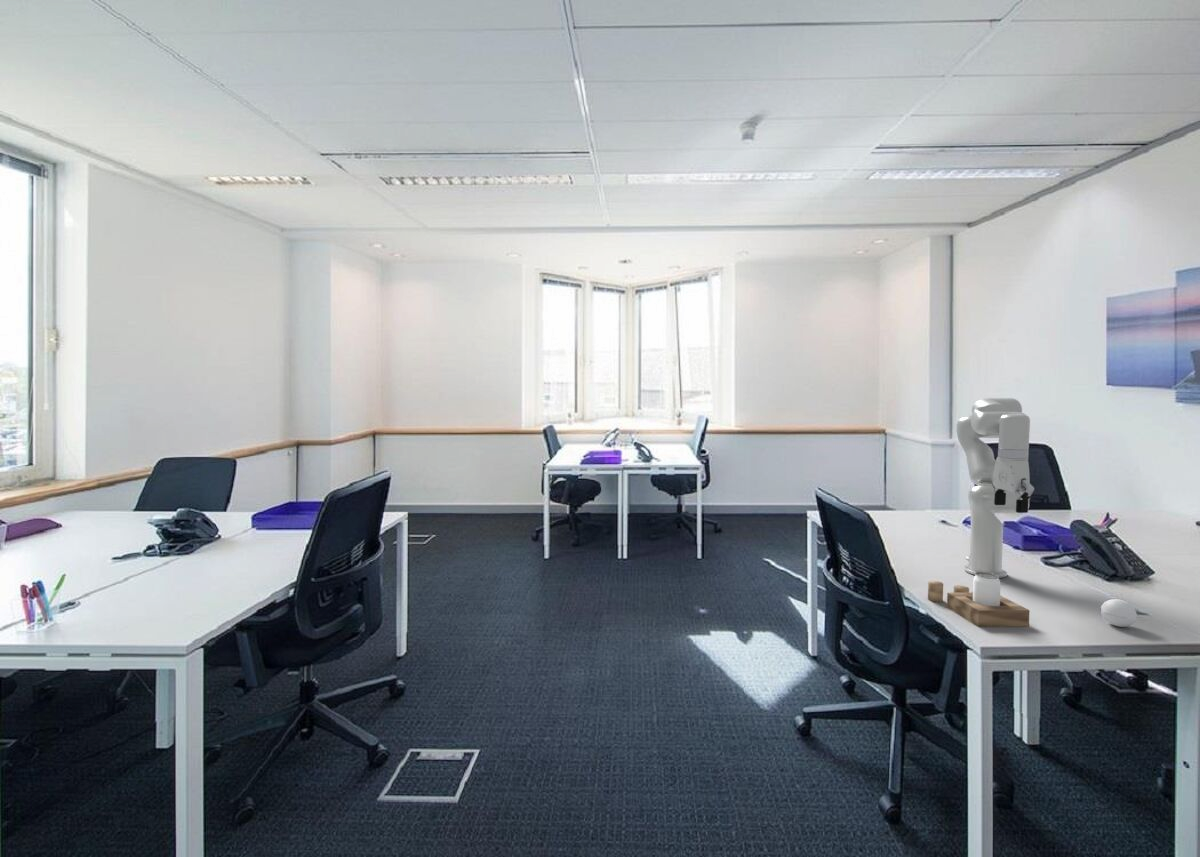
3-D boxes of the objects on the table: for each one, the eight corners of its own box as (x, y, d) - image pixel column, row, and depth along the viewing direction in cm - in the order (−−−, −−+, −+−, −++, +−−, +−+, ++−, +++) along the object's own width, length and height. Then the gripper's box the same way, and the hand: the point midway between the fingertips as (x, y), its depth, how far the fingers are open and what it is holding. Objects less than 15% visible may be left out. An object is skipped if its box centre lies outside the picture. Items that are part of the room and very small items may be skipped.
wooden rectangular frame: (947, 607, 168) (947, 592, 167) (993, 607, 168) (994, 592, 167) (977, 626, 154) (978, 610, 154) (1028, 626, 154) (1029, 610, 153)
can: (969, 615, 161) (971, 575, 160) (975, 609, 166) (976, 570, 165) (996, 622, 156) (998, 580, 156) (1001, 615, 161) (1002, 575, 160)
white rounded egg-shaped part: (1117, 620, 157) (1118, 594, 157) (1144, 631, 150) (1145, 604, 149) (1083, 620, 157) (1084, 595, 156) (1108, 632, 149) (1109, 605, 149)
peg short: (950, 597, 176) (951, 585, 175) (963, 597, 176) (963, 585, 175) (958, 602, 172) (959, 589, 171) (971, 602, 172) (972, 589, 171)
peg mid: (925, 597, 176) (925, 580, 175) (937, 597, 176) (938, 580, 175) (932, 602, 172) (933, 585, 171) (945, 602, 172) (946, 584, 171)
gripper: (982, 450, 180) (980, 502, 182) (1020, 458, 163) (1017, 515, 164) (1006, 450, 180) (1003, 502, 181) (1047, 458, 163) (1044, 515, 164)
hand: (1010, 508), depth 173 cm, fingers open, 9 cm apart
